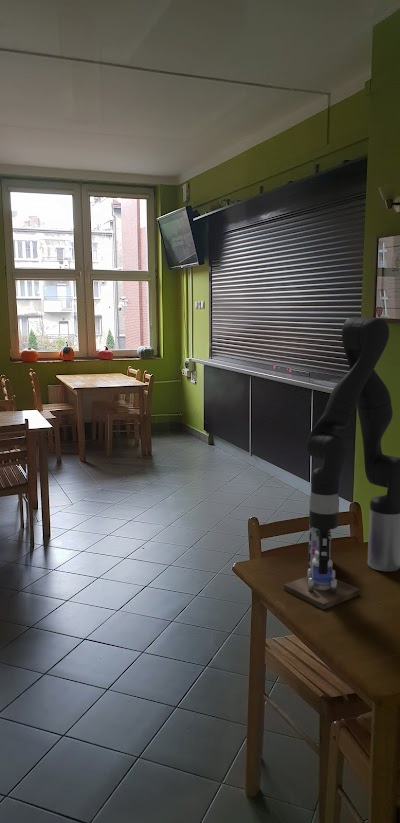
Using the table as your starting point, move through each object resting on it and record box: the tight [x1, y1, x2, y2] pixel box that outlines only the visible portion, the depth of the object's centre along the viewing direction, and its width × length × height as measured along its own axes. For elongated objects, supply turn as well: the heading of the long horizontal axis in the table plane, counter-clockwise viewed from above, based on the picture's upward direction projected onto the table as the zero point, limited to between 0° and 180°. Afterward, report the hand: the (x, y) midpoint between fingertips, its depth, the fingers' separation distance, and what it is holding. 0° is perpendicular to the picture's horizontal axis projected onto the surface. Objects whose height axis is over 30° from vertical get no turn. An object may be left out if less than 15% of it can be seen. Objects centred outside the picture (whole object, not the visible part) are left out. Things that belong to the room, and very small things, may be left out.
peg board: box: [283, 575, 360, 611], centre depth 160 cm, size 14×14×2 cm
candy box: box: [308, 525, 331, 568], centre depth 176 cm, size 14×6×16 cm, turn 168°
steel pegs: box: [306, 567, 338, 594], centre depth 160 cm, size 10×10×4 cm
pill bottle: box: [312, 550, 333, 590], centre depth 160 cm, size 5×5×10 cm
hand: (322, 567), depth 159 cm, fingers open, 8 cm apart
